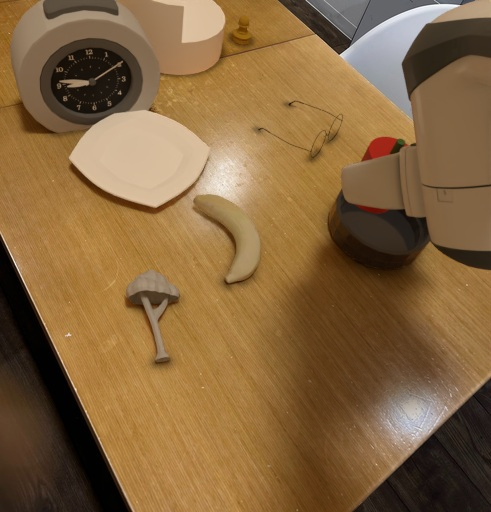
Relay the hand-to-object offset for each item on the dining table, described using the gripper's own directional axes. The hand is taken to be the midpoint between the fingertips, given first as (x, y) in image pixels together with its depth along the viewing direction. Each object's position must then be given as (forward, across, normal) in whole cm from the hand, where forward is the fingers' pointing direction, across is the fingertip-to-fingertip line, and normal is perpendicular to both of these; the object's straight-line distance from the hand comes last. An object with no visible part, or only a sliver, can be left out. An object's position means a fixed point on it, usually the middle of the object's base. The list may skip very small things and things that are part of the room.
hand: (382, 165), depth 59 cm
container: (+54, +3, -26) cm, 60 cm away
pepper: (+3, 0, +4) cm, 5 cm away
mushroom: (+13, +28, +14) cm, 34 cm away
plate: (+33, +20, -5) cm, 39 cm away
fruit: (+20, +14, +8) cm, 26 cm away
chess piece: (+54, -12, -25) cm, 60 cm away
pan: (+15, -9, +12) cm, 21 cm away
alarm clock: (+43, +24, -14) cm, 51 cm away
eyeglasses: (+32, -9, -4) cm, 34 cm away
